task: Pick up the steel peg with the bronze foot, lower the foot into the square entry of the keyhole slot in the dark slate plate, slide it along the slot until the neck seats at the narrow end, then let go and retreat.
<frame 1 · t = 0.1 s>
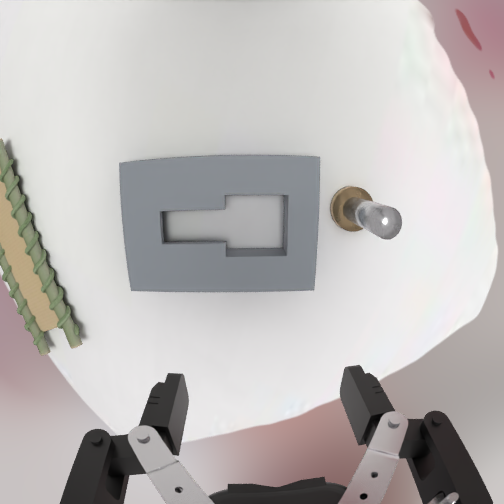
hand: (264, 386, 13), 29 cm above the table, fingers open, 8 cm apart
keyhole plate: (219, 221, 40), on the table
stretcher: (23, 248, 40), on the table
steel peg: (350, 208, 40), on the table
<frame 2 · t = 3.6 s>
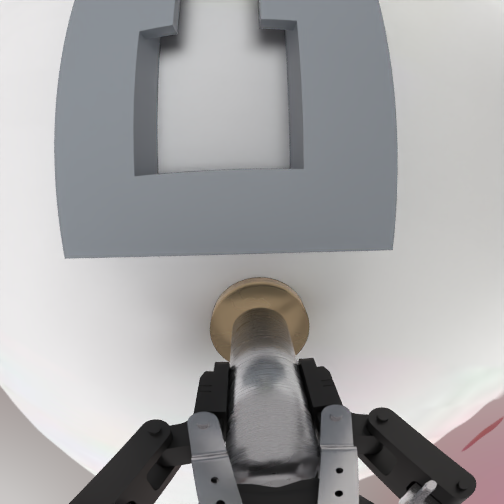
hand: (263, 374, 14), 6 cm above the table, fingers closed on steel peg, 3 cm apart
keyhole plate: (221, 36, 14), on the table
steel peg: (258, 320, 19), on the table, touching gripper
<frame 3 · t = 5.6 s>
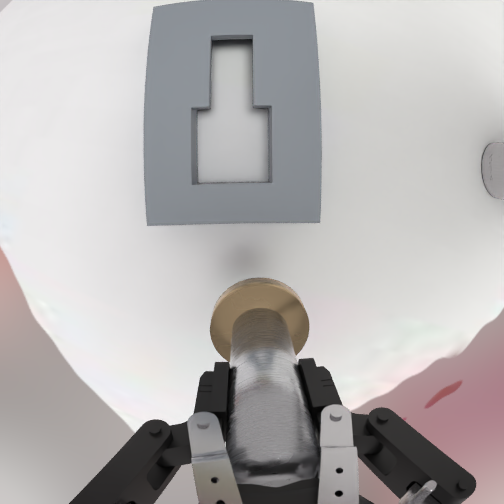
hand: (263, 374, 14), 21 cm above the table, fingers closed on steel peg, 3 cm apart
keyhole plate: (232, 105, 29), on the table
steel peg: (258, 320, 19), point 15 cm above the table, touching gripper
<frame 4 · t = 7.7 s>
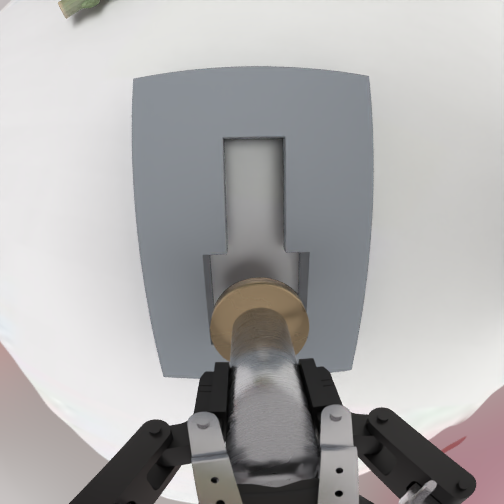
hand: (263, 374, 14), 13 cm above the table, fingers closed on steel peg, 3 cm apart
keyhole plate: (254, 229, 25), on the table
steel peg: (258, 320, 19), point 7 cm above the table, touching gripper
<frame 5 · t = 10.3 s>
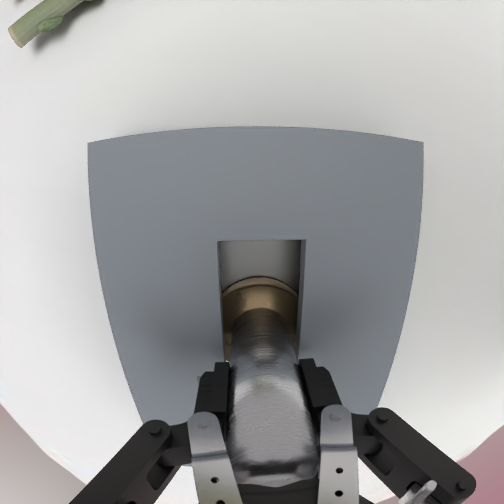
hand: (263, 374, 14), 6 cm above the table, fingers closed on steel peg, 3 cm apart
keyhole plate: (258, 329, 20), on the table
steel peg: (258, 320, 19), on the table, touching gripper
when the fingers open (6 cm above the table, at t = 12.2 s): steel peg stays where it is, on the table.
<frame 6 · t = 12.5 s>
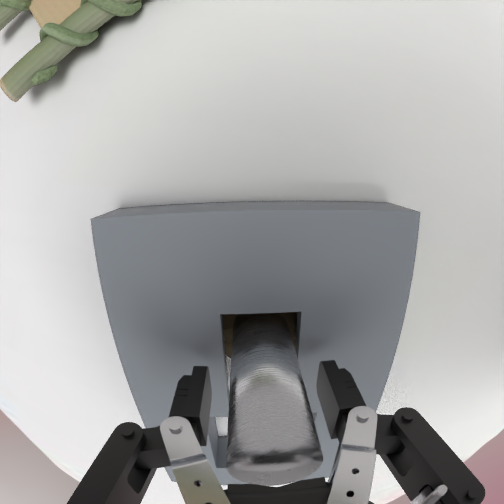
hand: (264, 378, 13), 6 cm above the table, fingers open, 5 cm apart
keyhole plate: (258, 371, 21), on the table
steel peg: (259, 317, 20), on the table
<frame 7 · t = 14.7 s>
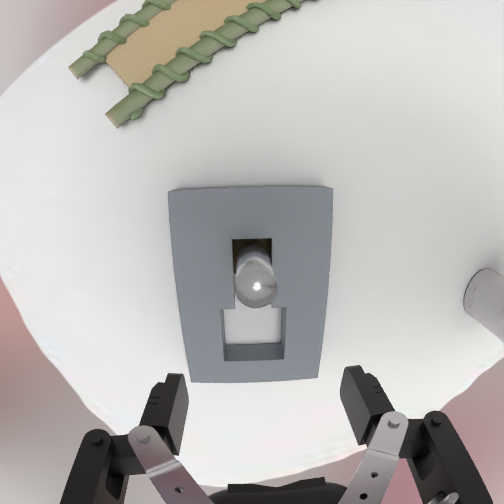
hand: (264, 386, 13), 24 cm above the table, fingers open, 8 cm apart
keyhole plate: (252, 287, 37), on the table
stretcher: (220, 8, 27), on the table
steel peg: (252, 250, 36), on the table
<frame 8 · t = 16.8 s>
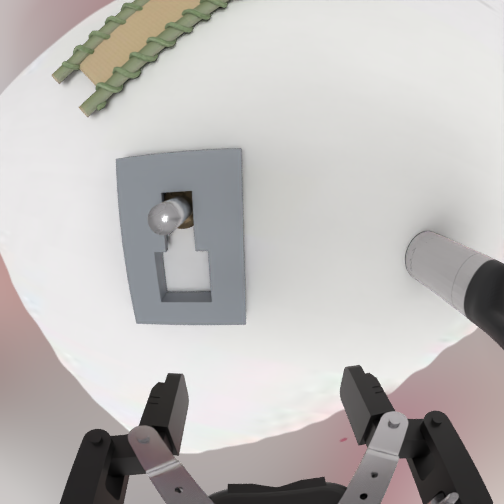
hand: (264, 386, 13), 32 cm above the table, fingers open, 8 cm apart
keyhole plate: (185, 238, 43), on the table
stretcher: (164, 17, 33), on the table
steel peg: (183, 206, 42), on the table
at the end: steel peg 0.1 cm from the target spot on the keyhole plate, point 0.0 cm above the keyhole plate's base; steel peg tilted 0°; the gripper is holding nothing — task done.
